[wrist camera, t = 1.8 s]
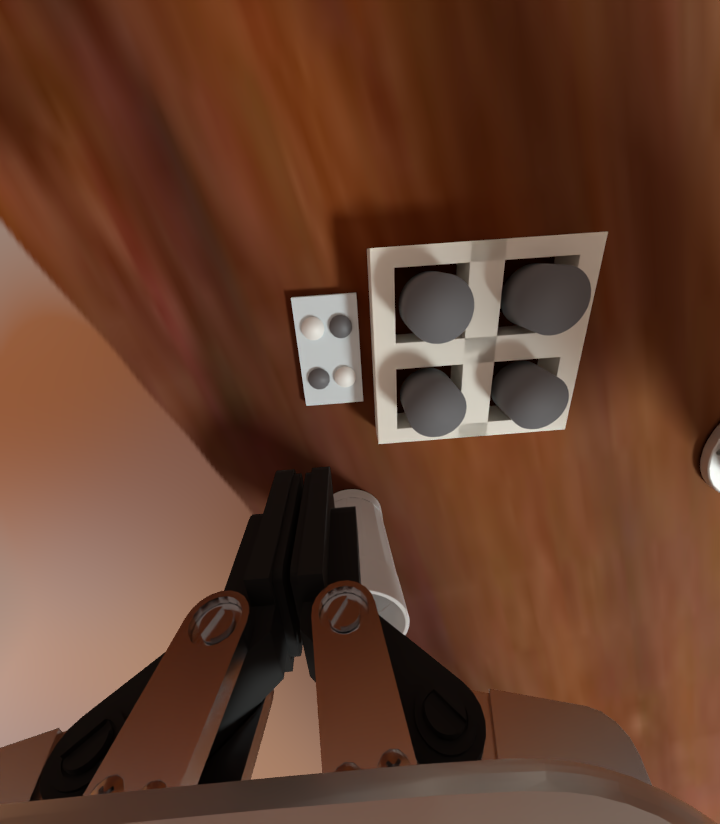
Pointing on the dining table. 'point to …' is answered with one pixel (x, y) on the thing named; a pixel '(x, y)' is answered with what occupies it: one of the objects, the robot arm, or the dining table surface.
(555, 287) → the camera button
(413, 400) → the button
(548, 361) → the board
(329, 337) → the card
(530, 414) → the button
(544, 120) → the dining table surface
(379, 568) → the cup
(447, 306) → the button camera
